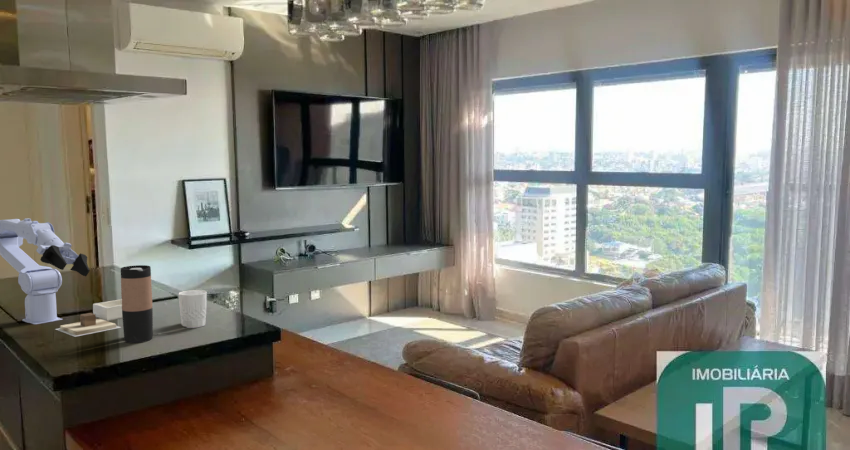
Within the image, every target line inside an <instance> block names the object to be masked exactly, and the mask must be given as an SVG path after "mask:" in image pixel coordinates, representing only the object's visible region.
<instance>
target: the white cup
mask: <svg viewBox="0 0 850 450" xmlns="http://www.w3.org/2000/svg"><path fill="white" fill-rule="evenodd" d="M207 297H208V292H207V291H206V290H203V289H189V290H184V291H179V292H178V302H179V303H178V305H179V313H180V314H179V316H180V322H181V323H180V325H181V326H183V327H184V328H185V329H197V328H201V327H204V326H206V323H207V320H206V317H207V303H208V302H207V299H208V298H207Z"/></svg>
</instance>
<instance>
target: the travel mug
mask: <svg viewBox="0 0 850 450" xmlns="http://www.w3.org/2000/svg"><path fill="white" fill-rule="evenodd" d="M151 271H152V270H151V265H144V264H142V265H141V264H140V265H139V264H137V265H127V266H123V267H121V268H120V283H121V284H120V288H121V289H120V290H121V291H120V293H121V295H120V296H121V299H122V317H123V318H122V326H123V328H122V329H123V340H124V342H126V343H130V344H136V343H137V344H138V343H145V342H148V341H151V340H153V335H154V332H153V330H154V327H153V326H154V324H153V323H154V321H153V318H154V316H153V315H154V313H153V290H152V289H153V288H152V287H153V286H152V272H151Z"/></svg>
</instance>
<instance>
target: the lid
mask: <svg viewBox="0 0 850 450" xmlns="http://www.w3.org/2000/svg"><path fill="white" fill-rule="evenodd" d="M79 319H80V321H78V322H77V321H76V322H73V323H71V322H70V323H68V324H67V323H66V324H62V325H61V324H60V325H59V328H60V329H61V330H64V331H67V332H69V333H72V334H75V335H81V334H86V333H91V332H96V331H101V330H106V329H112V328H117V326H118V325H117V323H115V322H110V321H105V320H102V319H99V318H96V315H95V314H93V313H92V312H88V313H83V314H80V315H79ZM117 329H118V328H117ZM112 330H113V329H112Z"/></svg>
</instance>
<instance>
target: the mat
mask: <svg viewBox="0 0 850 450" xmlns="http://www.w3.org/2000/svg"><path fill="white" fill-rule="evenodd" d="M120 328H121V329H123V328H122V327H121V326H119V325H117V328H112V329H106V330H101V331H96V332H91V333H86V334H81V335H75V334H72V333H69V332H67V331H64V330H61V329H60V327H59V328H55V329H54V330H56V331H58V332H60V333H64V334H66V335H69V336H72V337H75V338H76V337H80V336H86V335H91V334H96V333H102V332H105V331H110V330H116V329H120Z"/></svg>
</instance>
